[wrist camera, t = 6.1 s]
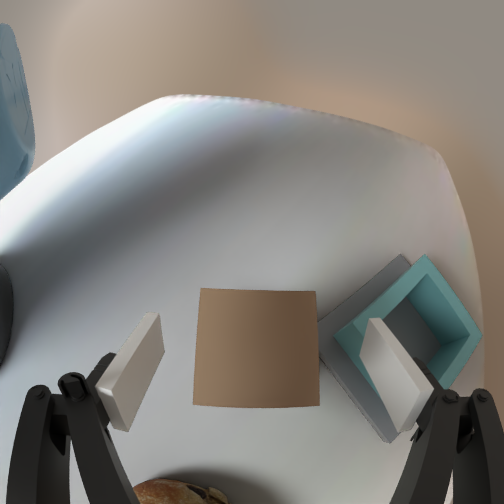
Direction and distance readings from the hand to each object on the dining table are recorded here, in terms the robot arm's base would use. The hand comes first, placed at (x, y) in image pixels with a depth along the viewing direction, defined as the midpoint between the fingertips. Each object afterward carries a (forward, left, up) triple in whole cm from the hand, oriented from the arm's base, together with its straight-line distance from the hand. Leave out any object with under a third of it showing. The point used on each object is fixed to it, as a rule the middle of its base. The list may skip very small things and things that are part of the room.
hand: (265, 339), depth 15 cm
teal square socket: (+7, +10, -6) cm, 13 cm away
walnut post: (+1, -1, -6) cm, 6 cm away
